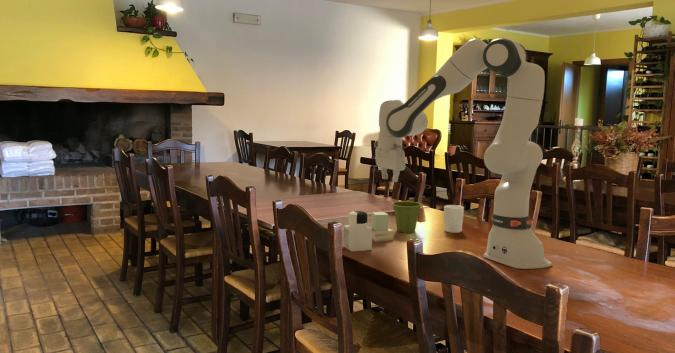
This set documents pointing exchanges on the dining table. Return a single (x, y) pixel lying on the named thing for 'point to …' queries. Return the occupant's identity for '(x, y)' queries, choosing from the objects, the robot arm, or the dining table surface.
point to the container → (357, 232)
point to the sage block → (379, 221)
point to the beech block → (382, 235)
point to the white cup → (453, 218)
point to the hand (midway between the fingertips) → (389, 180)
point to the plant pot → (406, 215)
